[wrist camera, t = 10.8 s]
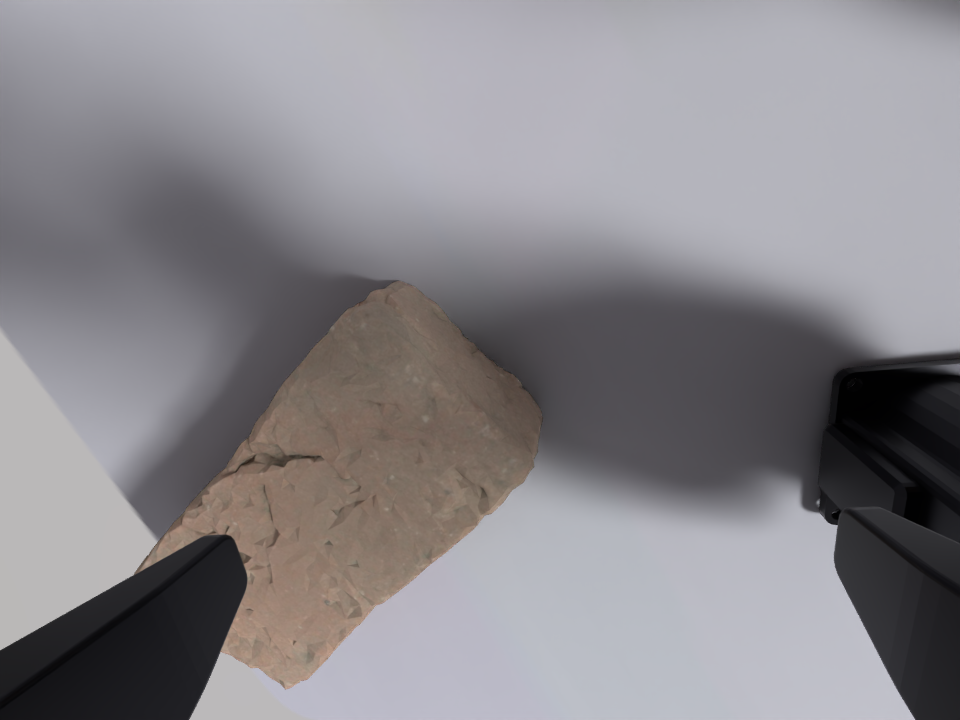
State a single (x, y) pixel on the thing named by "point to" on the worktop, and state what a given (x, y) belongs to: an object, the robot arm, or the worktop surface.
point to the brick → (360, 477)
